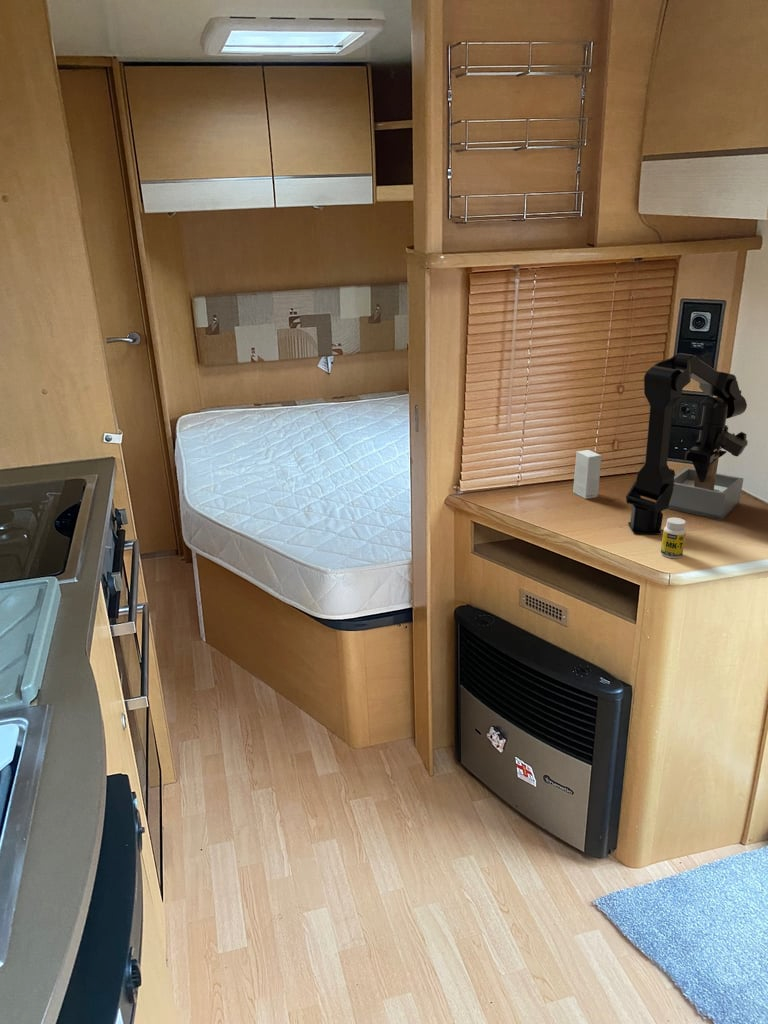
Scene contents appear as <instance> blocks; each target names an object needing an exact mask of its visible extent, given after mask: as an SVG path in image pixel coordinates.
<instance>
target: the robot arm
mask: <svg viewBox="0 0 768 1024" xmlns="http://www.w3.org/2000/svg"><path fill="white" fill-rule="evenodd" d="M691 379H692V380H693V381H696V382H697V383H698V384H699V386H698V388H699V389H700V390H701V391H702V393H703V394H707V396H706V397H705V398H704V399H702V401H701V402H700V406H701V407H703V409H702V413H701V414H702V416H701V421H700V422H701V423H700V424H699V425H698V426H697V430H698V431H699V434H698V435H699V436H698V440H696V441H695V445H694V446H693V447H691V448H690V449H688V450H686V451H685V454H684V460H685V461H689V462H690V461H691V462H692V465H693V467H694V469H695V470H696V473H697V476H698V479H699V481H700V482H704V481H705V479H706V476H707V473H708V470H709V467H710V464H712V463H713V462H715V461H716V460H717V459H714V457H715V453H717V454H719V459H720V458H721V457H723V456H724V455H725V454H727V453H730V454H731V455H732V456H734V457H739V456H740V455H741V454H743V451H744V450H745V448H746V447H747V446H748V440H747V433H745V432H743V431H740V432H738V433H737V434H735V432H733V433H731V432H729V426H728V425H726V423H727V419H730V418H735V417H737V416H740V415H742V414H744V413H745V411H746V410H747V407H748V404H747V400H746V398H745V397H744V396H743V395H742V389H741V390H740V387H739V383H738V380H737V376H736V375H735V374H732V373H729V372H728V373H727V372H723V371H719V370H716V369H714V368H713V367H711V366H710V365H709V364H707V363H705V362H704V361H703V360H701V359H700V358H699V357H698V356H697V355H696V354H689V353H683V352H679V353H675V354H674V355H673V356H671V357H670V358H667V359H664V360H661V361H659V362H657V363H655V364H654V365H653V366H651V367H650V368H649V369H648V370H647V371H646V372H645V374H644V376H643V391H644V392H643V394H644V397H645V399H646V400H647V402H648V405H649V415H648V417H649V418H648V429H647V436H646V437H647V438H646V440H647V441H646V448H645V449H646V450H645V460H644V461H645V462H644V464H643V466H641V468H640V470H639V471H638V472H637V473H636V479H635V481H634V483H632V487H630V489H629V491H628V493H627V494H626V496H625V498H626V499H625V500H626V503H627V504H628V505H632V506H631V512H630V521H629V522H627V525H628V527H629V529H630V530H631V532H632V533H633V534H634V535H661V533H662V531H661V529H662V526H663V516H664V513H663V512H662V511H665V510H667V509H669V508H668V505H669V502H670V499H671V496H672V493H673V486H674V476H675V475H676V473H675V470H674V469H671V468H669V465H668V457H669V456H668V455H669V449H670V447H669V446H670V439H671V438H670V437H671V436H670V435H671V427H672V418H673V417H672V416H673V407H674V405H675V404H676V402H677V401H678V400H679V399H680V397H681V396H682V394H683V388H685V387H686V386H687V385H689V384H690V383H691ZM647 498H648V499H647ZM649 499H650V500H649Z"/></svg>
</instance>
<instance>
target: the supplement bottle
mask: <svg viewBox="0 0 768 1024" xmlns="http://www.w3.org/2000/svg"><path fill="white" fill-rule="evenodd" d="M686 524H687V523H686V520H685V519H683V518H680V517H669V518H667V519H666V524H665V526H664V528H663V532H662V539H661V545H660V554H661V555H662V556H663V557H664V558H669V559H680V558H682V557H683V554H684V547H685V542H686V541H685V540H686V535H687V530H686Z"/></svg>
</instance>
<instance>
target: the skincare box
mask: <svg viewBox="0 0 768 1024" xmlns="http://www.w3.org/2000/svg"><path fill="white" fill-rule="evenodd" d="M575 453H576V454H575V462H574V463H575V465H574V476H573V477H574V478H573V487H572V489H573V490H572V492H573V493H574V494H575V495H578V496H579V497H581V498H583V499H585V500H588V499H593V498H594V499H595V498H598V496H599V486H600V476H601V466H602V464H601V463H602V454H599V453H597V452H594V451H592V450H590V449H585V450H577V451H575Z"/></svg>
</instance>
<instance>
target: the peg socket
mask: <svg viewBox="0 0 768 1024" xmlns="http://www.w3.org/2000/svg"><path fill="white" fill-rule="evenodd" d="M695 475H696V470H695V468H691V467H684V468H683V469H682V470H680V471H679V472H678V473H675V476H674V486H673V493H672V496H671V499H670V502H669V505H668V508H667V509H669V510H674V511H679V512H683V513H686V514H692V515H695V516H696V515H697V516H701V517H704V516H705V517H706V518H708V517H709V519H714V520H718V521H722V520H723V519H724V518H725V517H727V515H728V514H729V513H731V511H733V510H734V509H736V507H737V506H738V505H739V504H740V501H741V497H742V496H741V495H742V490H743V485H744V478H743V477H738V476H732V475H729V474H728V475H726V474H722V473H718V472H717V473H716V479H715V485H714V491H713V490H708V489H703V488H699V487H694V481H695ZM705 517H704V518H705Z"/></svg>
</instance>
